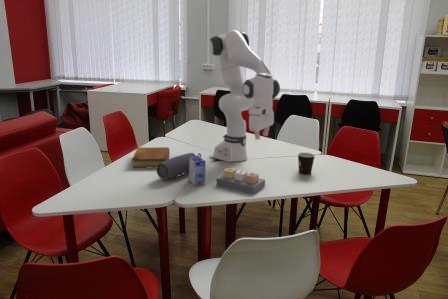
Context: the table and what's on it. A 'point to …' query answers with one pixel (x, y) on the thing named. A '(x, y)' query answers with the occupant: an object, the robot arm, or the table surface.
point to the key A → (229, 173)
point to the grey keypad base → (241, 184)
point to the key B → (240, 175)
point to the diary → (150, 157)
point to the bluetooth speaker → (174, 166)
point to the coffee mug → (305, 163)
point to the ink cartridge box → (197, 170)
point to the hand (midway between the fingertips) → (261, 137)
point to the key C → (252, 178)
